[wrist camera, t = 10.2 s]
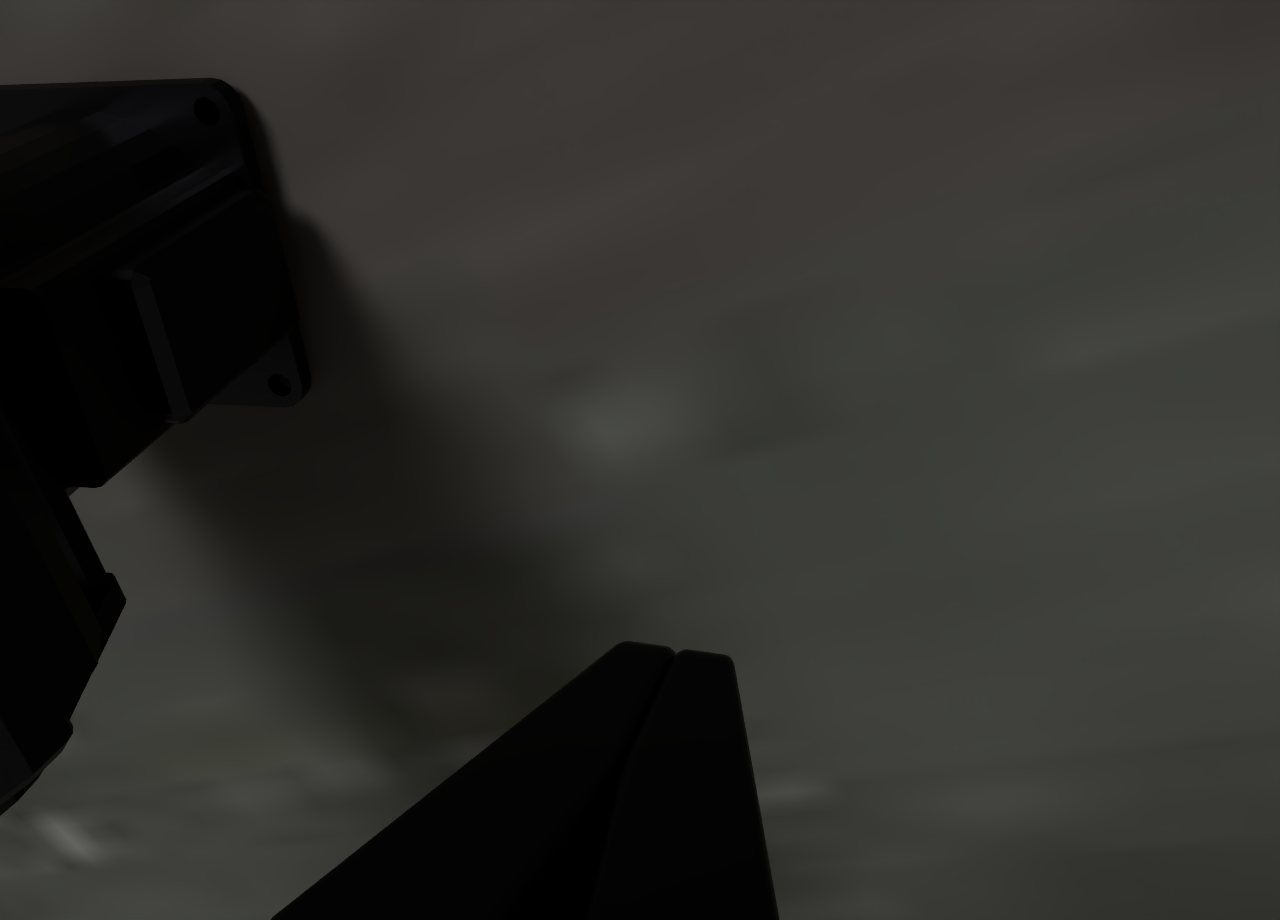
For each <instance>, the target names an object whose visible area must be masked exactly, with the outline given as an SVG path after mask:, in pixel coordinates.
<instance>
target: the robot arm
mask: <svg viewBox="0 0 1280 920" xmlns="http://www.w3.org/2000/svg"><path fill="white" fill-rule="evenodd" d="M206 98H208V99H210V100H212V101H213V102H214V103H215V104H216V106H217V108H218V110H219V116H220V119H216V118H214V117H213V116H212V115H211V114H210V113H209V111H208V109H207V107H206ZM298 321H299V312H298V308H297V304H296V300H295V296H294V292H293V288H292V284H291V280H290V276H289V272H288V268H287V264H286V260H285V256H284V252H283V248H282V244H281V240H280V236H279V232H278V228H277V224H276V220H275V216H274V212H273V208H272V204H271V202H270V201H269V199H268V198H267V197H266V195H265V192H264V188H263V184H262V180H261V176H260V172H259V168H258V164H257V160H256V156H255V152H254V148H253V144H252V140H251V136H250V132H249V128H248V124H247V120H246V116H245V112H244V108H243V105H242V102H241V100H240V98H239V95H238V94H237V93H236V91H235V90H234V89H233V88H232V87H231V85H229V84H227V83H226V82H224V81H222V80H220V79H215V78H192V79H163V80H135V81H106V82H78V83H49V84H20V85H0V815H2V814H3V813H4V812H5V811H6V810H8V809H9V808H10V807H11V806H12V805H14V804H15V803H16V802H17V801H18V800H19V799H20V798H21V797H22V796H23V794H24V793H25V792H26V791H27V790H28V789H29V788H30V787H31V786H32V785H33V783H34V782H35V781H36V780H37V779H38V778H39V776H40V775H41V773H42V771H43V770H44V769H45V768H46V767H47V766H48V765H49V764H50V763H51V762H52V761H53V760H54V759H55V758H56V757H57V756H58V755H59V754H60V753H61V752H62V751H63V749H64V748H65V746H66V744H67V742H68V741H69V739H70V737H71V735H72V734H73V725H72V723H71V722H70V718H71V716H72V714H73V712H74V710H75V707H76V705H77V703H78V701H79V699H80V697H81V695H82V693H83V691H84V689H85V687H86V685H87V683H88V681H89V678H90V676H91V674H92V673H93V671H94V669H95V668H96V666H97V664H98V660H99V658H100V656H101V654H102V652H103V649H104V647H105V645H106V643H107V641H108V639H109V637H110V635H111V633H112V631H113V629H114V627H115V625H116V623H117V620H118V618H119V616H120V614H121V612H122V610H123V608H124V606H125V604H126V598H125V596H124V594H123V592H122V590H121V588H120V586H119V584H118V582H117V580H116V578H115V576H114V575H113V574H112V573H106V571H105V569H104V567H103V565H102V563H101V561H100V559H99V557H98V555H97V553H96V551H95V549H94V547H93V545H92V543H91V541H90V539H89V537H88V535H87V533H86V531H85V529H84V527H83V525H82V523H81V521H80V518H79V516H78V514H77V512H76V510H75V508H74V506H73V504H72V502H71V500H70V498H69V496H70V495H71V494H72V493H73V492H75V491H76V490H77V489H78V488H79V487H88V488H97V487H101V486H103V485H104V484H105V483H106V482H108V481H109V480H110V479H111V478H112V477H113V476H115V475H116V474H117V473H118V472H119V471H120V470H122V469H123V468H124V467H125V466H126V465H127V464H129V463H130V462H131V461H132V460H133V459H134V458H135V457H137V456H138V455H139V454H140V453H141V452H142V451H144V450H145V449H146V448H147V447H148V446H149V445H151V444H152V443H153V442H154V441H155V440H156V439H158V438H159V437H160V436H161V435H162V434H163V433H165V432H166V431H167V430H168V429H169V428H170V427H172V426H173V425H174V424H175V423H180V424H182V423H185V422H187V421H188V420H190V419H191V418H192V417H193V416H194V415H195V414H197V413H198V412H199V411H200V410H201V409H202V408H203V407H205V406H206V405H207V404H226V405H249V406H272V407H289V406H294V405H295V404H296V403H298V402H299V401H300V400H301V399H302V398H303V397H304V396H305V395H306V394H307V393H308V392H309V390H310V388H311V375H310V371H309V367H308V363H307V359H306V355H305V351H304V347H303V343H302V339H301V335H300V331H299V327H298ZM278 374H279V375H283V376H284V377H285V378H286V379H288V381H289V383H290V385H291V387H288V386H285V385H284V384H283V383H282V382H281V381H280V379H279V377H278ZM271 920H779V914H778V909H777V903H776V897H775V892H774V886H773V880H772V875H771V869H770V864H769V858H768V852H767V847H766V841H765V835H764V830H763V824H762V818H761V813H760V807H759V801H758V796H757V790H756V785H755V779H754V773H753V768H752V762H751V756H750V751H749V745H748V739H747V734H746V728H745V722H744V717H743V711H742V705H741V700H740V694H739V689H738V683H737V677H736V672H735V667H734V662H733V661H732V659H731V658H730V657H729V656H727V655H723V654H716V653H709V652H702V651H695V650H688V649H685V650H682V651H680V652H678V653H677V654H676V653H675V652H674V651H673V650H672V649H671V648H670V647H667V646H660V645H653V644H646V643H639V642H632V641H625V642H622V643H619V644H617V645H616V646H614V647H613V648H612V649H610V650H609V651H608V652H607V653H605V654H604V655H603V656H602V657H600V658H599V659H598V660H597V661H595V662H594V663H593V664H592V665H590V666H589V667H588V668H587V669H585V670H584V671H583V672H581V673H580V674H579V675H578V676H576V677H575V678H574V679H573V680H571V681H570V682H569V683H568V684H566V685H565V686H564V687H563V688H561V689H560V690H559V691H557V692H556V693H555V694H554V695H552V696H551V697H550V698H549V699H547V700H546V701H545V702H544V703H542V704H541V705H540V706H539V707H537V708H536V709H535V710H533V711H532V712H531V713H530V714H528V715H527V716H526V717H525V718H523V719H522V720H521V721H520V722H518V723H517V724H516V725H515V726H513V727H512V728H511V729H509V730H508V731H507V732H506V733H504V734H503V735H502V736H501V737H499V738H498V739H497V740H496V741H494V742H493V743H492V744H491V745H489V746H488V747H487V748H485V749H484V750H483V751H482V752H480V753H479V754H478V755H477V756H475V757H474V758H473V759H472V760H470V761H469V762H468V763H467V764H465V765H464V766H463V767H462V768H460V769H459V770H458V771H456V772H455V773H454V774H453V775H451V776H450V777H449V778H448V779H446V780H445V781H444V782H443V783H441V784H440V785H439V786H438V787H436V788H435V789H434V790H432V791H431V792H430V793H429V794H427V795H426V796H425V797H424V798H422V799H421V800H420V801H419V802H417V803H416V804H415V805H414V806H412V807H411V808H410V809H408V810H407V811H406V812H405V813H403V814H402V815H401V816H400V817H398V818H397V819H396V820H395V821H393V822H392V823H391V824H390V825H388V826H387V827H386V828H384V829H383V830H382V831H381V832H379V833H378V834H377V835H376V836H374V837H373V838H372V839H371V840H369V841H368V842H367V843H366V844H364V845H363V846H362V847H360V848H359V849H358V850H357V851H355V852H354V853H353V854H352V855H350V856H349V857H348V858H347V859H345V860H344V861H343V862H342V863H340V864H339V865H338V866H337V867H335V868H334V869H333V870H331V871H330V872H329V873H328V874H326V875H325V876H324V877H323V878H321V879H320V880H319V881H318V882H316V883H315V884H314V885H313V886H311V887H310V888H309V889H307V890H306V891H305V892H304V893H302V894H301V895H300V896H299V897H297V898H296V899H295V900H294V901H292V902H291V903H290V904H289V905H287V906H286V907H285V908H283V909H282V910H281V911H280V912H278V913H277V914H276V915H275V916H273V917H272V919H271Z"/></svg>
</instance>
